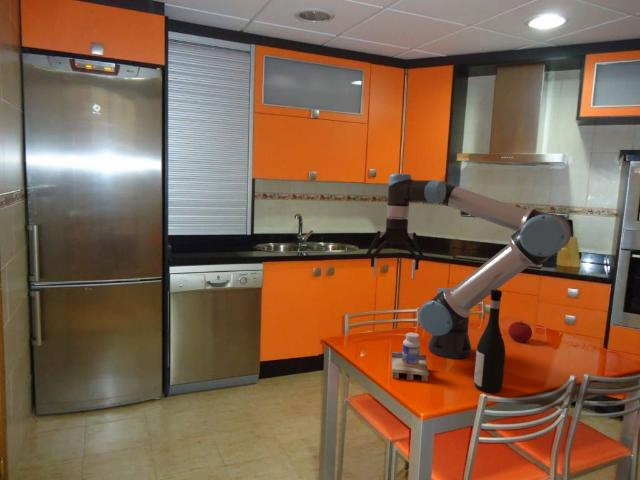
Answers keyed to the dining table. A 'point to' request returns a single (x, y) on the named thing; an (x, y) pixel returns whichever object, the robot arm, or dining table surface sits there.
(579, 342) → the dining table surface
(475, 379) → the wine bottle
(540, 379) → the dining table surface
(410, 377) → the dock
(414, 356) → the pill bottle
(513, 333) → the tomato
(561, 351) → the dining table surface
